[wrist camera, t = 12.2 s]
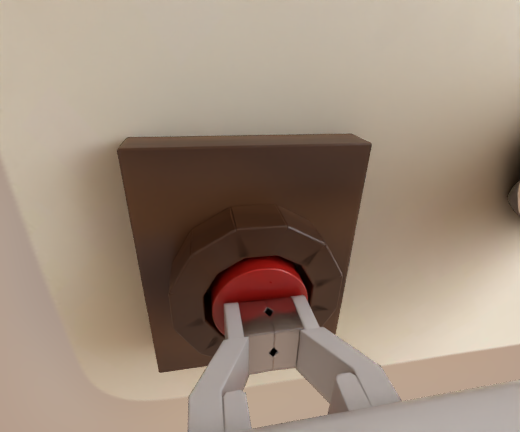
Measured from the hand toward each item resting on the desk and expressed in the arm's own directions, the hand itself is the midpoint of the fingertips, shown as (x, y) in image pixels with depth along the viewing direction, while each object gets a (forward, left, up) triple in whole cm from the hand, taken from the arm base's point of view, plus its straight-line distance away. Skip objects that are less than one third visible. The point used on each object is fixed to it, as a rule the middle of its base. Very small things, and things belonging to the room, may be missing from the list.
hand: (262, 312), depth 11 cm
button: (0, 0, -2) cm, 2 cm away
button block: (0, 0, -4) cm, 4 cm away
